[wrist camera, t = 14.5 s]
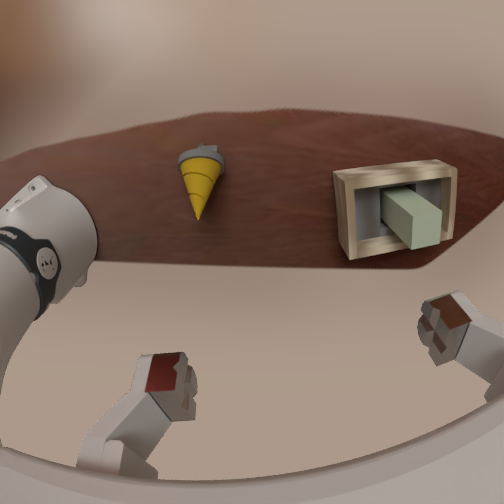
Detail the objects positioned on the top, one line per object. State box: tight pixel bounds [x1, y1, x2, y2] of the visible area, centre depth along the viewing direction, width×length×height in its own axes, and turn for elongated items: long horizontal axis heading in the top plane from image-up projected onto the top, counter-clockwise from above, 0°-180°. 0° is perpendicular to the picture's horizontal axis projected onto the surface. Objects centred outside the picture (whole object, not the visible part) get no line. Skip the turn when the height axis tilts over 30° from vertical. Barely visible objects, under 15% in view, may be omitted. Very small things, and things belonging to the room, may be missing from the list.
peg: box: [379, 185, 442, 250], centre depth 33 cm, size 4×4×10 cm
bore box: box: [333, 159, 457, 260], centre depth 35 cm, size 16×10×5 cm, turn 101°
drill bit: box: [177, 142, 224, 220], centre depth 32 cm, size 5×5×10 cm
